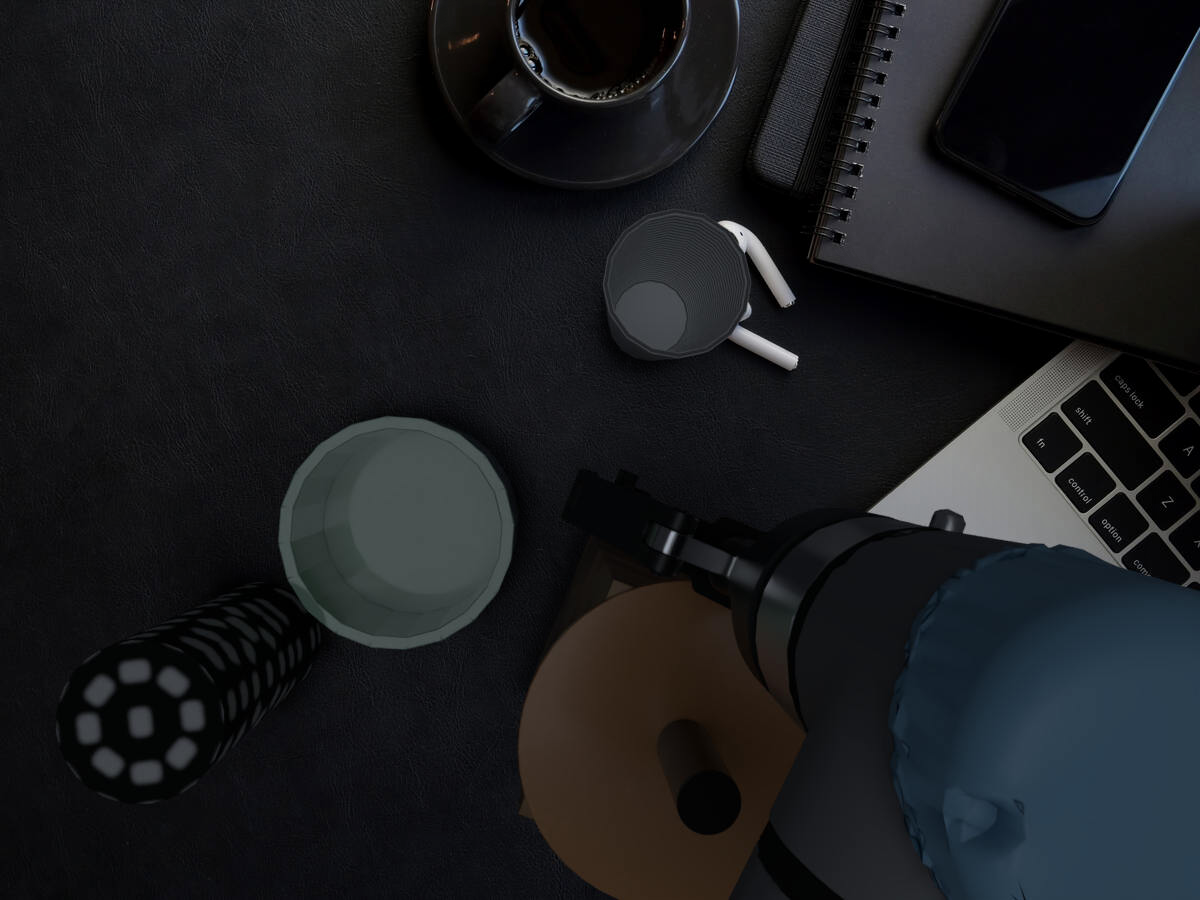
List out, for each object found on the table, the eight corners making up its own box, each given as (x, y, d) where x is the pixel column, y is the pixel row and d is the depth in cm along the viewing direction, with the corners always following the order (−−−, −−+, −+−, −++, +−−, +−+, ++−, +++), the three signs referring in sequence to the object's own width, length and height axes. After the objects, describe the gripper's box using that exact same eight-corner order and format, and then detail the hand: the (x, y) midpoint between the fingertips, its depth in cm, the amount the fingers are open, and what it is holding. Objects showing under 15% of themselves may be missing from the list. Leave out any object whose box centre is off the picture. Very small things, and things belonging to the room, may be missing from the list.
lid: (770, 952, 45) (815, 1055, 37) (467, 836, 44) (450, 917, 36) (891, 650, 45) (960, 692, 37) (593, 529, 44) (602, 546, 37)
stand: (679, 744, 69) (749, 904, 45) (528, 684, 68) (517, 814, 44) (741, 593, 69) (843, 671, 45) (591, 532, 68) (613, 578, 44)
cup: (619, 396, 68) (640, 382, 53) (572, 290, 68) (578, 244, 53) (724, 349, 69) (775, 321, 53) (677, 243, 69) (715, 184, 53)
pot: (472, 652, 68) (460, 683, 59) (283, 577, 67) (242, 597, 58) (548, 466, 68) (548, 469, 59) (361, 389, 67) (332, 381, 58)
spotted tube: (196, 589, 67) (46, 650, 47) (314, 575, 67) (214, 630, 47) (209, 704, 67) (65, 814, 47) (326, 690, 67) (233, 793, 47)
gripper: (1246, 662, 31) (964, 575, 52) (555, 376, 30) (552, 405, 51) (1164, 871, 31) (914, 699, 52) (466, 593, 30) (500, 532, 51)
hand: (735, 554), depth 52 cm, fingers open, 13 cm apart
